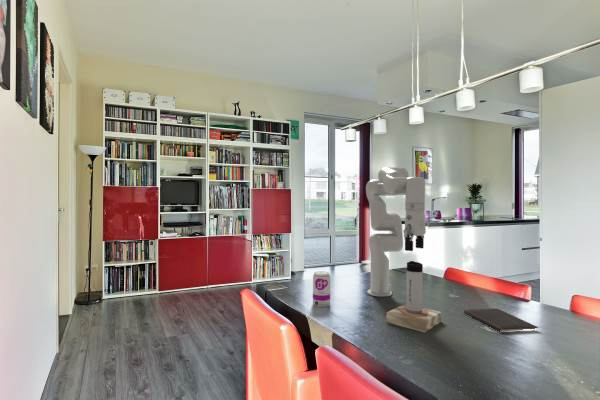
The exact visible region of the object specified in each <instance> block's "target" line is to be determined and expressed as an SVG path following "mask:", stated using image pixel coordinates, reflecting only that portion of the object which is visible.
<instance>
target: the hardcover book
mask: <svg viewBox="0 0 600 400" xmlns="http://www.w3.org/2000/svg"><path fill="white" fill-rule="evenodd" d="M464 313H465V314H467V315H469V316H471V317H472V318H471V317H470V318H471V319H473V318H474V319H476V320H478V321H480V322H482V323H484V324H486V325H488V326H489V327H491V328H493V329H495V330H497V331H499V332H500V331H509V330H523V329H535V328H537V329H538V328H539V327H538V326H537V325H534V324H532V323H530V322H528V321H526V320H523V319H521V318H519V317H518V316H515V315H513V314H511V313H508V312H505V311H503V310H501V309H499V308H479V309H478V308H475V309H474V308H473V309H464V310H463V314H464ZM465 314H464V315H465ZM467 315H466V316H467ZM469 316H468V317H469ZM474 319H473V320H474ZM476 320H475V321H476ZM478 321H477V322H478ZM480 322H479V323H480ZM482 323H481V324H482ZM484 324H483V325H484ZM489 327H488V328H489ZM491 328H490V329H491ZM493 329H492V330H493Z"/></svg>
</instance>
